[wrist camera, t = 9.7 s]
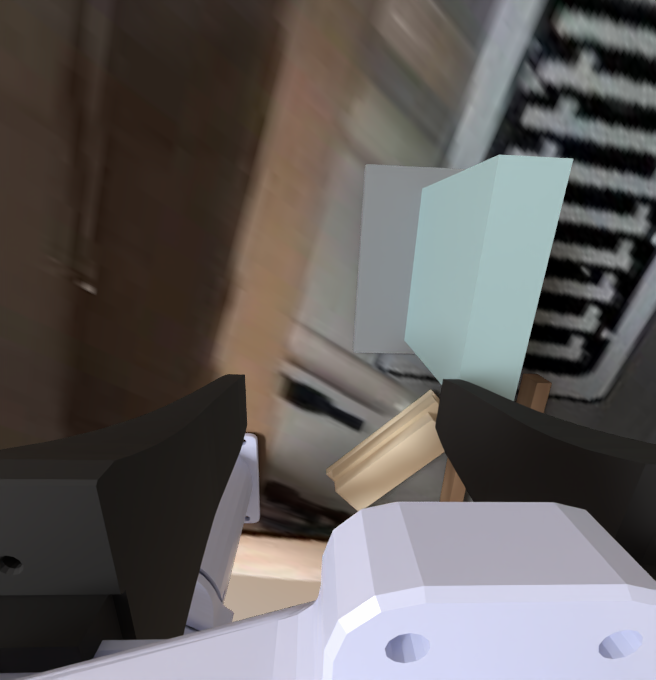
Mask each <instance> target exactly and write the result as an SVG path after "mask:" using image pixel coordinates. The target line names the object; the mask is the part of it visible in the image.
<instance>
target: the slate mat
mask: <svg viewBox="0 0 656 680" xmlns="http://www.w3.org/2000/svg"><path fill="white" fill-rule="evenodd" d="M464 170H466V169H451V168H431V167H412V166H392V165H372V164H366V166H365V173H364V188H363V203H362V218H361V233H360V248H359V263H358V278H357V293H356V308H355V323H354V338H353V352H357V353H398V354H415V353H414V351H413V350H412V349H411V348H410V347H409V345H408V344H407V343H406V342H405V341H404V339H405V330H406V322H407V314H408V305H409V297H410V288H411V280H412V271H413V263H414V254H415V246H416V237H417V229H418V220H419V212H420V204H421V195H422V188H425V187H427V186H429V185H432V184H434V183H436V182H438V181H441V180H443V179H445V178H448V177H450V176H452V175H454V174H457V173H459V172H461V171H464Z"/></svg>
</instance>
